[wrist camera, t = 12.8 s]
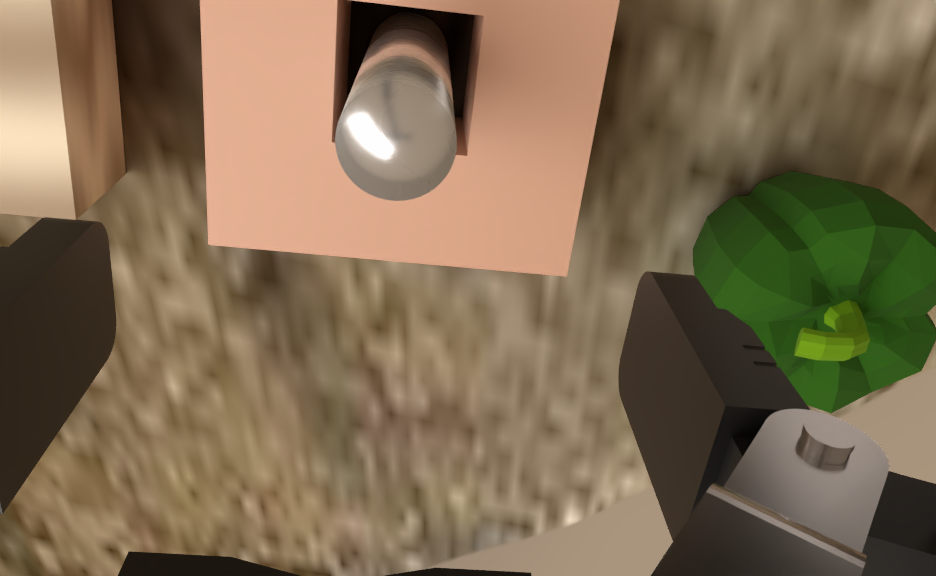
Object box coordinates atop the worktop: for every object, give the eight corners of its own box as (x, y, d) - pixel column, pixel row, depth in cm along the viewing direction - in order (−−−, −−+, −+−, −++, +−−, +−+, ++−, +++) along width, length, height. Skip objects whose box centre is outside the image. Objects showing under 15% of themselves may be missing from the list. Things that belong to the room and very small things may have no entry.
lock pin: (372, 7, 29) (337, 75, 19) (452, 16, 30) (463, 89, 19) (367, 88, 31) (332, 195, 20) (444, 96, 31) (450, 206, 20)
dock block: (234, -165, 27) (193, -176, 22) (608, -115, 28) (641, -116, 23) (239, 195, 32) (208, 245, 28) (549, 225, 34) (566, 276, 29)
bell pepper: (901, 197, 34) (1070, 308, 25) (780, 344, 37) (891, 489, 28) (747, 105, 32) (870, 190, 23) (632, 269, 35) (701, 400, 26)
